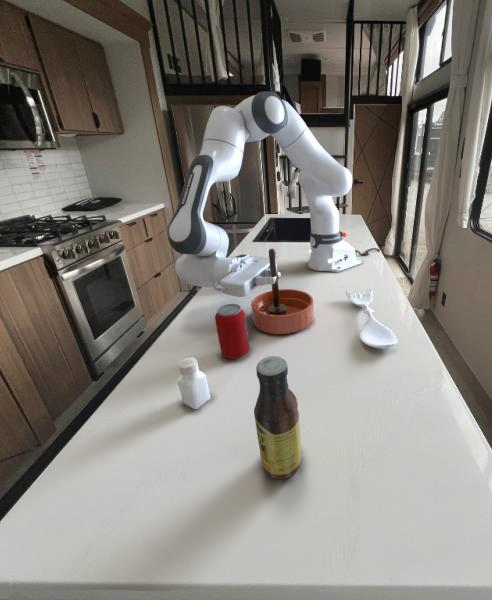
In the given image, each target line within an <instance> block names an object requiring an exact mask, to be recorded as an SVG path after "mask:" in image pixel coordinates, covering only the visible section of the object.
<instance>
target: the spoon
mask: <svg viewBox="0 0 492 600" xmlns="http://www.w3.org/2000/svg"><path fill="white" fill-rule="evenodd" d="M345 296H346V297H347V299H348V300H349V301H350V302H351V303H352V304H353V305H355V306H358V307H361V308H364V310H362V312H363V314H365V315H367V316H368V319H367V321H366V323H364V324H363V326H362V328H361V329H360V331H359V338H360V340H361V341H362V342H363V343H364V344H365V345H367V346H369V347H371V348H375V349H389V348H391V347H393V346H395V345H396V344H397V342H398V338H397V337H398V336H397V335H396V334H395V333H394V331H392V330H391V329H390V328H389V327H387V326H386V325H384V324H382V323H381V322H380V321H378V320H377V319H375V317H374V316H373V313H375V310H373V309H372V308H370V306H369V305H370V304H371V303H372V302H373V290H372V288H370V289H369V291H368V290H366V293H365V291H362V294H361V292H360V291H357V295H356V293H355V291H353V292H351V291H349V292H348V290H345Z"/></svg>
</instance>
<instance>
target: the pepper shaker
mask: <svg viewBox="0 0 492 600" xmlns="http://www.w3.org/2000/svg"><path fill="white" fill-rule="evenodd" d="M178 368H179V372H180V376H179V377H178V378H177V385H178V387H179V388H178V389H179V393H180V396H181V399H182V402H183V404H184V405H186V406H188V407H190V408H192V409H193V410H197V409H199V408H200V407H201V406H203V405H204V404H206V403H207V402H208V401H209V400H210V399H211V393H210V389H209V385H208V381H207V376H206V374H205V373H204V372H203V371H201V370H199V368H200V367H199V364H198V359H196V358H195V357H193V356H192V357H186V358H183V359H182V360H180V361H179V363H178Z"/></svg>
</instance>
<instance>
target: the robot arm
mask: <svg viewBox="0 0 492 600" xmlns="http://www.w3.org/2000/svg"><path fill="white" fill-rule="evenodd" d="M269 136H271V137H272V138H273V139H274V140H275V142H276V143H277V145H278V147H280V149H281V150H282V151H283V153H284V154H285V155H286V157H287V158H288V160H289V161H290V162H291V164H292V165H293V166H294V167H296V168H297V169H298V170H299V173H298V175H297V176H298V178H297V180H298V184H299V186H300V187H301V189H302V190H303V192H304V195H305V198H306V202H307V205H308V209H309V216H310V217H309V218H310V232H309V239H310V240H309V245H310V250H309V253H310V254H309V255H310V256H309V260H308V265H307V266H308V268H309V269H311V270H314V271H319V272H333V273H339V272H342V271H344V270H347V269H351V268H352V267H356V266H359V265H360V264H362V260H361V258H359V257H358V256H357V253H358V254H359V256H368V255H369V254H370V253H369V252H370V251H378V252H380V251H381V249H379V248H378V247H372V248H369V249H366V250H365V252H364V253H362V252H360V251H359V250H357V249H355V248H354V246H352V245H351V244H349V243H348V242H347V241H345V240H344V239H343V238H347V237H348V233H347V232H346V231H341V230H340V211H339V209H338V208H337V206H336V204H335V203H334V200H333V198H338V197H343V196H345V195H347V194H348V193H349V192H350V190H351V189H352V186H353V175H352V172H351V171H350V169H348V168H347V167H345V166H344V165H342V164H341V163H339V162H338V161H337V160H336V159H335V157H333V156H332V155H331V154H330V153H329V152H328V151H327V150H325V148H324V147H323V146H322V145H321V144H320V143H319V141H318V140H317V138H316V137H315V136H314V134H313V132H312V131H311V130H310V128H309V127H308V126H307V124H306V122H305V121H304V119H303V118H302V117H301V116H300V114H299V113H298V112H297V111H296V109H295V108H294V107H293V106H292V105H291V104H290V103H289V102H288V101H287V100H285V99H282V98H281V97H280V96H279V95H277V94H276V93H274V92H272V91H268V90H267V91H259V92H258V93H256V94H255V95H251V96H249V97H247V98H245V99H243V100H242V101H241V102H240V103H238V104H237V105H236V106H233V107H231V106H227V105H220V106H216V107H215V108H214V109H213V110H212V111H211V113H210V115H209V117H208V120H207V123H206V127H205V130H204V134H203V139H202V145H201V149H200V152H199V154H198V155H197V156H195V157H194V158H193V160H192V161H191V163H190V165H189V168H188V171H187V174H186V177H185V181H184V183H183V187H182V190H181V194H180V197H179V201H178V204H177V207H176V210H175V211H174V213H173V216H172V218H171V219H170V221H169V224H168V226H167V229H166V230H167V231H166V233H167V235H166V236H167V240H168V242H169V245H170V247H171V248H172V249H173V250H174V251H175V252H177V253H178V254H180V255H181V254H182V255H181V256H179V257H178V258H177V259H176V261H175V263H174V270H175V271H174V272H175V274H176V276H177V278H178V279H179V281H181V282H182V283H183V284H185V285H190V286H193V287H194V286H195V287H198V288H199V287H200V288H213V289H214V290H215V291H217V292H221V293H222V294H224V295H227V296H231V297H237V298H245V297H247V296H248V295H249V294H250V293H251V292H252V291H254V290H255V289H256V288H257V287H258V286H265V285H272V284H274V283H275V282H276V277H275V276H271V273H270V262H269V257H267V256H266V257H265V256H258V255H255V256H253V255H252V256H250V255H249V254H248V253H242V254H239V255H235V256H228V251H229V247H230V246H229V245H230V238H229V234H228V233H227V231H226V230H225V229H224V228H222V227H220V226H218V225H216V224H214V223H210V222H208V221H206V220H205V219H204V215H203V214H204V210H205V207H206V204H207V200H208V195H209V192H210V189H211V187H212V186H213V184H215V183H221V182H223V183H224V182H225V183H226V182H229V181H231V180H234V179H235V178H236V177H237V176H238V175H239V172H240V170H241V168H242V164H243V158H244V152H245V151H244V150H245V144H247V145H248V144H251V143H254V142H259V141H261V140H264V139H265V138H268V137H269ZM227 256H228V258H227ZM277 274H278V280H279V279H280V278H282V275H281V272H280V271H277Z"/></svg>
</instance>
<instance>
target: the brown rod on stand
mask: <svg viewBox="0 0 492 600" xmlns="http://www.w3.org/2000/svg"><path fill="white" fill-rule="evenodd" d="M268 258H269V262H270V273H271V276H275V277H276V282H275V283H274V284H271V291H272V294H273V305H270V306H269V307H268V315H286V314H287V308H286V306H285V305H284V304H280V298H279V289H280V287H279V279H278V274H277V272H278V264H277V262H278V261H277V252H276V249H274V248H269V250H268Z"/></svg>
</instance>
